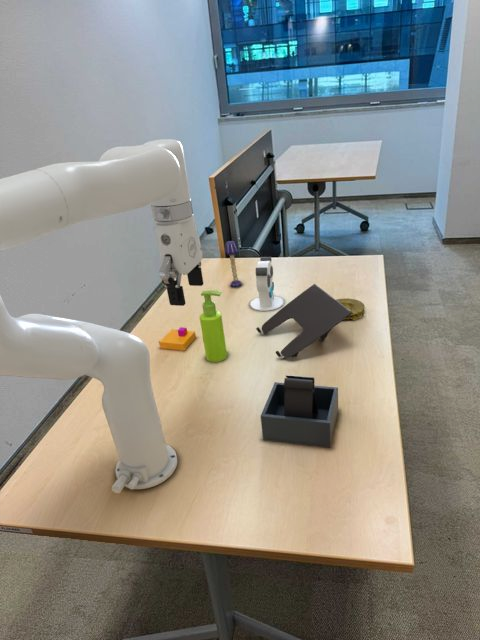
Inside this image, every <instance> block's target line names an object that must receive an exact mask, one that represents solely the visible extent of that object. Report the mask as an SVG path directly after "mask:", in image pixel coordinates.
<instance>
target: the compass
mask: <svg viewBox="0 0 480 640" xmlns="http://www.w3.org/2000/svg"><path fill="white" fill-rule="evenodd" d="M335 300H337V301H338V302H339V303H341V304H342V305H343V306H344V307H346V308H347V309H348V310H350V311H351V312H352V314H351V315H349V316H348V317H346V318H345V319H344V320H352V321H356V320H359V319H361V318H362V317H363V315H364V313H365V303H364V302H362V301H360V300H359V299H355V298H349V297H348V298H347V297H346V298H345V297H344V298H343V297H342V298H337V299H335Z"/></svg>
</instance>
